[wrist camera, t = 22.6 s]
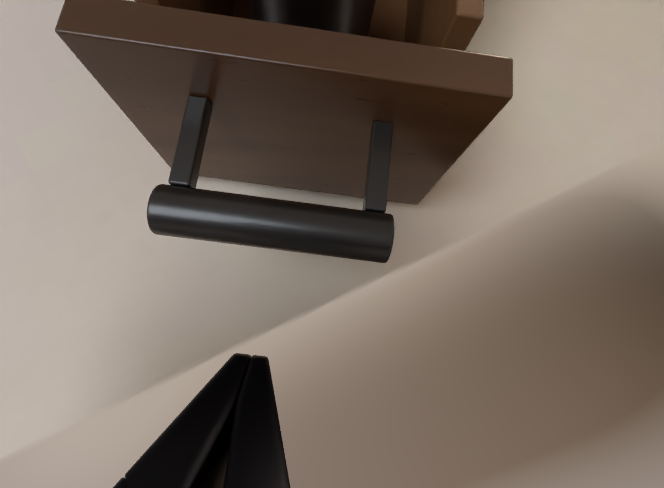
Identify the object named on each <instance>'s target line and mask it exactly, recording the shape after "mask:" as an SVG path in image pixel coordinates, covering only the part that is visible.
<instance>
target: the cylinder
mask: <svg viewBox="0 0 664 488" xmlns="http://www.w3.org/2000/svg"><path fill="white" fill-rule="evenodd" d="M375 1H376V0H250V4H251V10H252V16H253V20H260V21H267V22H273V23H280V24H287V25H294V26H300V27H307V28H314V29H320V30H327V31H334V32H341V33H347V34H354V35H361V36H367V37H368V35H369V30H370V25H371V20H372V15H373V11H374V6H375Z"/></svg>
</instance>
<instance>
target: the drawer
mask: <svg viewBox="0 0 664 488" xmlns="http://www.w3.org/2000/svg"><path fill="white" fill-rule="evenodd" d="M483 14H484V0H376V1H375V6H374V11H373V15H372V20H371V25H370V30H369V35H368V37H367V36H361V35H354V34H347V33H341V32H334V31H327V30H320V29H314V28H307V27H300V26H294V25H287V24H280V23H273V22H267V21H260V20H253V16H252V10H251V4H250V0H135V2H133V1H126V0H65V2H64V5H63V8H62V11H61V14H60V16H59V19H58V22H57V25H56V28H55V31H56V33H57V34H58V35H59V36H60V38H61V39H62V40H63V41H64V42H65V44H66V45H67V46H68V47H69V48H70V49H71V51H72V52H73V53H74V54H75V55H76V57H77V58H78V59H79V60H80V61H81V62H82V64H83V65H84V66H85V67H86V68H87V70H88V71H89V72H90V73H91V74H92V75H93V77H94V78H95V79H96V80H97V81H98V83H99V84H100V85H101V86H102V87H103V88H104V90H105V91H106V92H107V93H108V94H109V95H110V97H111V98H112V99H113V100H114V101H115V103H116V104H117V105H118V106H119V107H120V108H121V110H122V111H123V112H124V113H125V114H126V116H127V117H128V118H129V119H130V120H131V121H132V123H133V124H134V125H135V126H136V127H137V129H138V130H139V131H140V132H141V133H142V134H143V136H144V137H145V138H146V139H147V140H148V142H149V143H150V144H151V145H152V146H153V147H154V149H155V150H156V151H157V152H158V153H159V155H160V156H161V157H162V158H163V159H164V160H165V162H166V163H167V164H168V165H169V166H170V167H171V172H170V177H169V184H170V185H164V184H160V185H158V186H156V187H155V188H154V189H153V191H152V193H151V195H150V198H149V202H148V207H147V220H148V225H149V228H150V230H151V231H152V232H153V233H155V234H157V235H165V236H173V237H181V238H189V239H197V240H205V241H213V242H221V243H229V244H237V245H245V246H253V247H261V248H269V249H277V250H285V251H293V252H301V253H309V254H317V255H324V256H332V257H340V258H348V259H356V260H364V261H372V262H380V263H386V262H387V261H388V259H389V257H390V254H391V250H392V245H393V239H394V218H393V215H391V214H386V213H385V211H386V205H387V201H394V202H402V203H410V204H418V203H419V202H420V201H421V200H422V199H423V198H424V196H425V195H426V194H427V193H428V192H429V191H430V190H431V189H432V187H433V186H434V185H435V184H436V183H437V182H438V181H439V179H440V178H441V177H442V176H443V175H444V174H445V173H446V172H447V170H448V169H449V168H450V167H451V166H452V165H453V164H454V163H455V161H456V160H457V159H458V158H459V157H460V156H461V155H462V154H463V152H464V151H465V150H466V149H467V148H468V147H469V146H470V145H471V143H472V142H473V141H474V140H475V139H476V138H477V137H478V135H479V134H480V133H481V132H482V131H483V130H484V129H485V128H486V126H487V125H488V124H489V123H490V122H491V121H492V120H493V119H494V117H495V116H496V115H497V114H498V113H499V112H500V111H501V110H502V108H503V107H504V106H505V105H506V104H507V103H508V102H509V100H510V99H511V98H512V96H513V60H512V58H508V57H502V56H495V55H488V54H481V53H475V52H468V51H465V50H466V48H467V46H468V44H469V42H470V41H471V39H472V37H473V35H474V34H475V32H476V30H477V28H478V27H479V25H480V23H481V21H482V20H483ZM198 176H205V177H213V178H220V179H228V180H236V181H243V182H251V183H258V184H266V185H273V186H281V187H289V188H296V189H304V190H311V191H319V192H326V193H334V194H341V195H349V196H357V197H364V202H363V210H356V209H348V208H340V207H333V206H325V205H317V204H310V203H302V202H294V201H287V200H279V199H271V198H264V197H256V196H248V195H241V194H233V193H226V192H218V191H210V190H203V189H195V188H196V184H197V179H198Z"/></svg>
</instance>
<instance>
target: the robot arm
mask: <svg viewBox="0 0 664 488" xmlns="http://www.w3.org/2000/svg"><path fill="white" fill-rule="evenodd" d="M113 488H290V484H289V477H288V471H287V466H286V460H285V454H284V448H283V442H282V437H281V431H280V425H279V419H278V413H277V407H276V401H275V396H274V390H273V384H272V378H271V372H270V366H269V361H268V358H267V357H265V356H256V355H253V356H252V357H251V356H250V355H248V354H239V353H236V354H234V355H233V356H232V357H231V358H230V359H229V360H228V361H227V362H226V363H225V364H224V366H223V367H222V368H221V369H220V370H219V371H218V372H217V373H216V374H215V376H214V377H213V378H212V379H211V380H210V381H209V382H208V383H207V384H206V385H205V387H204V388H203V389H202V390H201V391H200V392H199V393H198V394H197V395H196V396H195V398H194V399H193V400H192V401H191V402H190V403H189V404H188V405H187V407H186V408H185V409H184V410H183V411H182V412H181V413H180V414H179V415H178V417H177V418H176V419H175V420H174V421H173V422H172V423H171V424H170V425H169V427H168V428H167V429H166V430H165V431H164V432H163V433H162V434H161V435H160V436H159V437H158V439H157V440H156V441H155V442H154V443H153V444H152V445H151V446H150V447H149V449H148V450H147V451H146V452H145V453H144V454H143V455H142V456H141V458H140V459H139V460H138V461H137V462H136V463H135V464H134V465H133V466H132V468H131V469H130V470H129V471H128V472H127V473H126V474H125V478H121V479H120V480H119V482H118V483H117V484H116V485H115V486H114V487H113Z"/></svg>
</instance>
